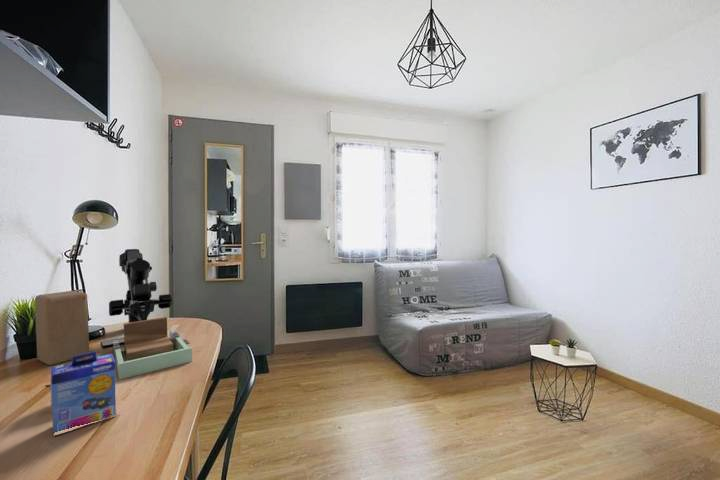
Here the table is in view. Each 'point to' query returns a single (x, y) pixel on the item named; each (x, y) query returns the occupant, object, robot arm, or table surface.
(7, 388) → the table surface
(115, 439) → the table surface
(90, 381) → the ink cartridge box
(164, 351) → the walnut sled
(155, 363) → the pale green tray
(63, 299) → the wooden block
